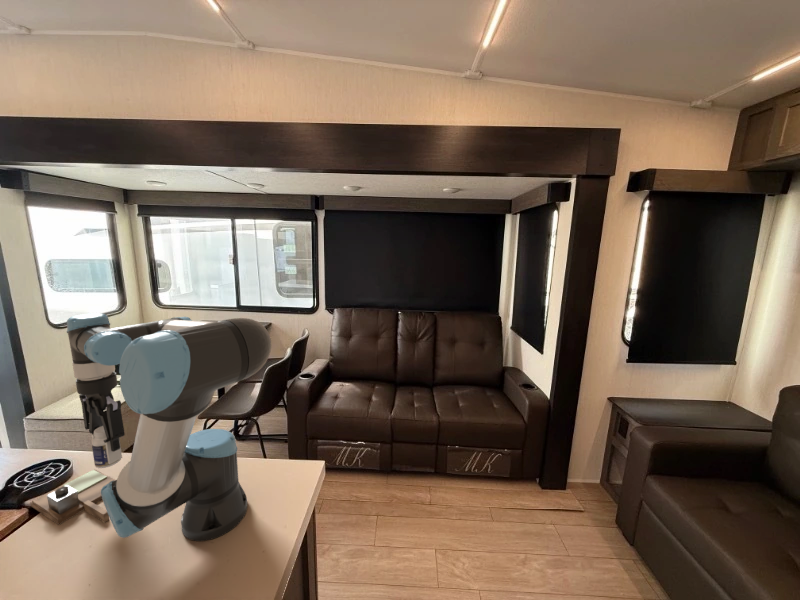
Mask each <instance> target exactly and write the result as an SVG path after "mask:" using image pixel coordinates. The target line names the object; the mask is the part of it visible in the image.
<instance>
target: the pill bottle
mask: <svg viewBox="0 0 800 600" xmlns="http://www.w3.org/2000/svg"><path fill="white" fill-rule="evenodd" d="M94 436H95V438H94V439H93V440H92V439H91V449H92V456H93V463H94V466H95V468H97V469H105V468H109V467H112V466H115V465H116V464H118V463H119V462H120V461H121V460H122V458H121V459H119V460H117V461H115V462H113V463H111V464H109V463H108V458H107V451H106V445H105V442H104V440H106V439H107V437H106V434H105V431H104V428H103V426H101V427H99V428H97V429H95V430H94ZM120 438H121V437H120ZM120 438H119V439H120ZM120 440H121V439H120Z"/></svg>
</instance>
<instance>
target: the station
mask: <svg viewBox="0 0 800 600" xmlns="http://www.w3.org/2000/svg"><path fill="white" fill-rule="evenodd" d="M113 480H116V479H115V478H113V477H111V476H109V475H107V474H105V473H102V472H101V471H99V470H97V469H95V468H94V469H92V470H90V471H89V472H86V473H84V474H82V475H80V476H78V477H76V478H74V479H72V480H70V481H68V482H67V483H64V484H63V485H60V486H57V488H55V489H54V490H51V491H49V492H48V493H45V494H44V495H41V496H40V497H37V498H34V499H32V500H31V501H30V502H29V504H30V505H29V506H30V507H31V508H33V509H34V510H36V511H37V512H39V513H40V514H42V515H44V516H45V517H46V518H48V519H50V520H51V521H53V522H54V523H55V524H57V525H61V524H63V523H64V522H66V521H68V520H69V519H71V518H73V517H74V516H76V515H78V514H79V513H81V512H83V511H85V512H86V513H88V514H90V515H91V516H93V517H95V518H97V519H98V520H100V521H101V522H103V523H106V522H108V521H109V520H110V518H109V515H108V513H107V510H106V508H103V507H101V506H99V505H98V504H97V503H99V501H101V500H102V501H103V499H102V496H101V489H102V487H104V486H105V485H107V484H108V483H109V482H111V481H113ZM66 485H68V486H70V487H72V488H73V489H75V490H77V492H78V498H79V504H78V505H77V506H75V507H73V508H71V509H70V510H68V511H66V512H64V513H62V514H61V515H59V514H58V513H56V512H54V511H53V510H51V509H50V508H49V505H48V499H47V495H48V494H50V493H52V492H54V491H56V490H57V489H59V488H61V487H64V486H66Z"/></svg>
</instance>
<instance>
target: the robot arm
mask: <svg viewBox="0 0 800 600" xmlns="http://www.w3.org/2000/svg"><path fill="white" fill-rule="evenodd" d="M66 334H67V336H68V341H69V347H70V353H71V358H72V370H73V376H74V378H75V379H76V380H75V387H76V391H77V393H78V394H79V397H78V398H79V400H80V404H81V410H82V417H83V424H84V428H85V429H84V430H87V431H88V433H90V435H91V436H90V437H91V441H92V440H93V439H94V438H95V436H94V430H95V429H97V428H99V427H101V426H103V428H104V431H105V434H106V437H107V439H106V440H104V442H105V445H106V451H107V458H108V463H109V464H111V463H113V462H115V461H117V460H119V459H121V460H122V459H123V454H122V447H121V446H122V445H121V439H119V438H122V437H124V436H125V435H126V434H125V427H124V422H123V415H122V402H121V400H120V399H119V400H114V395H113V393H112V390H113V389H114V388H116V387H117V386H118V377H117V372H115V370H116V366H117V365H119V369H118V373H119V375H120V379H119V386H120V390H121V394H122V396H123V399H124V400H125V401H124V402H125V403H126V404H127V406H128V407H129V409H130V410H132V412H134V413H136V414H139V417H138V418H139V419H138V423H137V428H136V433H135V437H134V444H133V447H132V448H133V449H132V452H131V455H130V457H131V458H130V461H129V462H128V463H126V464H125V465H124V466H123V468H122V469H121V471H120V472H119V474H118V476H117V479H115V480H113V481H111V482H109V483H108V484H107V485H105V486H104V487H102V489H101V496H102V501H103V504H104V507H105V508H104V509H105V510H106V511H107V513H108V515H109V520H110V523H111V524H112V526H113V528H114V530H115V533H116V535H118V537H119V538H122V539H125V538H129V537H130V536H133V535H134V534H136V533H138V532H141V531H143V530H144V528H146V527H148V526H149V525H151V524H152V523H154V522H156V521H158V520H159V519H161V518H163V517H164V516H166V515H168V514H169V513H170V512H173V511H174V510H176V509H178V508H179V507H181V506H182V505H184V504H185V505H184V509H183V512H182V515H181V521H180V524H181V525H180V526H181V531H182V535H183V536H184V537H185V538H186V539H188V540H191V541H194V542H195V541H196V542H197V541H198V542H203V541H210V540H213V539H216V538H218V537H219V538H220V537H221V536H223V535H225V534H226V533H228V532H230V531H232V530H233V529H234V528H235V527H237V526H238V525H239V524H240V523H241V521H242V520H243V519H244V518H245V516H246V514H247V511H248V497H247V495H246V492H245V491H244V489H243V487H242V485H241V483H240V481H239V467H238V466H239V465H238V446H237V442H236V437H235V435H234V433H232V432H231V431H230V430H227V429H222V428H208V429H202V430H199V431H195V432H193V433H192V431H193V428H194V425H195V423H196V419H197V417H198V416H199V415H200V414H202V413H203V412H204V411H205V410H206V409H207V408H208V407H209V406H210V404H211V402H212V400H213V398H214V395H215V393H216V391H218V390H220V389H223V388H224V387H228V386H231V385H233V384H236V383H239V382H241V381H243V380H246V379H248V378H250V377H252V376H254V375H256V373H258V372H259V371H260V370H261V369H263V367H264V366H265V365H266V364H267V361H268V360H269V358H270V354H271V350H272V340H271V339H272V338H271V336H270V333H269V332H268V329H266V327H265V326H264V325H263V324H262V323H260V322H259V321H257V320H255V319H252V318H247V317H246V318H245V317H244V318H243V317H240V318H238V317H237V318H228V319H223V320H219V321H218V320H217V321H204V320H203V321H202V320H192V319H191V317H188V316H175V317H171V318H168V319H165V318H164V319H160V320H155V321H154V320H153V321H149V322H141V323H135V324H130V325H129V324H128V325H123V326H118V327H116V326H115V327H111V323H110V320H109V316H108V315H107V314H105V313H101V312H100V313H97V312H96V313H83V314H82V313H81V314H77V315H73V316H70V317H69V318H68V319H66Z"/></svg>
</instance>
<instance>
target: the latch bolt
mask: <svg viewBox="0 0 800 600" xmlns="http://www.w3.org/2000/svg"><path fill="white" fill-rule="evenodd" d="M56 489H57V488H56ZM47 499H48V505H49V508H50V509H51V510H53V511H54V512H56V513H58V514H59V515H61V514H62V513H64V512H66V511H68V510H70V509H71V508H73V507H75V506H77V505H78V504H79V498H78V492H77V490H75V489H73V488H72V487H70V486H68V485H66V486H64V487H61V488H59V489H57V490H56V491H54V492H52V493H50V494H48V495H47Z"/></svg>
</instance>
